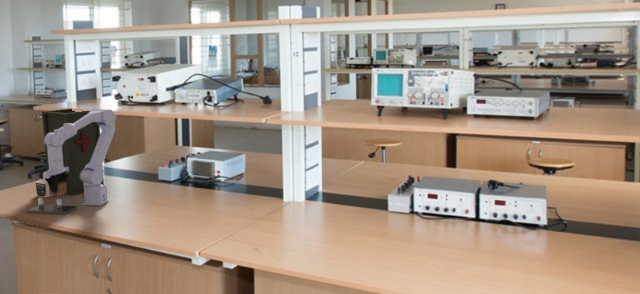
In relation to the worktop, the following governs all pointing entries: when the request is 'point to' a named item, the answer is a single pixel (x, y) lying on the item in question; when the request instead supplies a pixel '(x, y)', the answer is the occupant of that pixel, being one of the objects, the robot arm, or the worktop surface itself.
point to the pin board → (51, 208)
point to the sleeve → (59, 189)
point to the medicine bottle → (42, 186)
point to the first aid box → (73, 145)
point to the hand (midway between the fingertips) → (58, 190)
